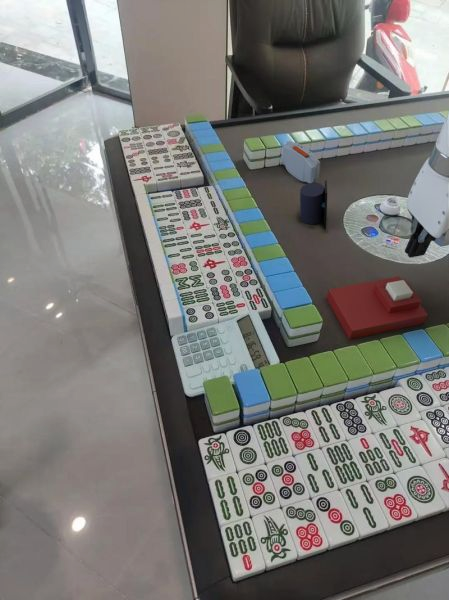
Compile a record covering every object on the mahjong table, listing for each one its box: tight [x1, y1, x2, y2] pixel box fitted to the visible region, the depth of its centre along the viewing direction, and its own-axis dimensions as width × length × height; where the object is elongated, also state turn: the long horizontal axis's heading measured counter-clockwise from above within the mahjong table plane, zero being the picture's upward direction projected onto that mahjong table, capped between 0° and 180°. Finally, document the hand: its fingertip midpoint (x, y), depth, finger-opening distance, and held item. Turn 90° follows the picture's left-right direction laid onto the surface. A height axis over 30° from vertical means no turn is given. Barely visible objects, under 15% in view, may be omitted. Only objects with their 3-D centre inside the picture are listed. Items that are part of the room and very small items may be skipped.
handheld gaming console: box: [280, 140, 321, 184], centre depth 118 cm, size 14×3×8 cm, turn 32°
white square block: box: [385, 280, 413, 302], centre depth 85 cm, size 4×4×2 cm
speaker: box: [299, 180, 328, 230], centre depth 104 cm, size 8×6×10 cm
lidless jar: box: [379, 196, 401, 216], centre depth 109 cm, size 5×3×5 cm
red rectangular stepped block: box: [326, 275, 429, 340], centre depth 86 cm, size 16×11×4 cm
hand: (414, 253), depth 77 cm, fingers closed
